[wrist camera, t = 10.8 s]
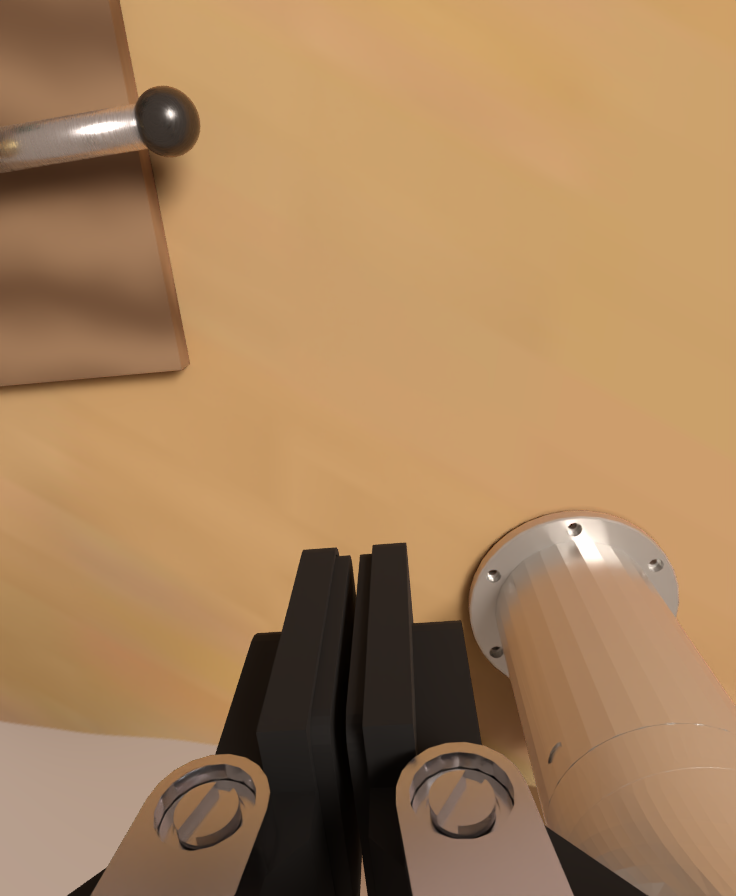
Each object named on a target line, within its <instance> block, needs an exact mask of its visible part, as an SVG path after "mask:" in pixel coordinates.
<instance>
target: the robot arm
mask: <svg viewBox="0 0 736 896" xmlns="http://www.w3.org/2000/svg"><path fill="white" fill-rule="evenodd" d="M572 523H574V524H573V525H572V526H569V525H570V524H572ZM491 570H494V571H492V572H491ZM678 606H679V586H678V582H677V579H676V575H675V572H674V569H673V567H672V565H671V563H670V562H669V560H668V558H667V556H666V554H665V553H664V552H663V551H662V549H661V548H660V547H659V546H658V544H657V543H656V542H655V541H654V540H653V539H652V538H651V537H650V536H649V535H648V534H647V533H645V532H644V531H643V530H642V529H641V528H639V527H637V526H635V525H634V524H632V523H630V522H628V521H627V520H625V519H622V518H619V517H616V516H613V515H610V514H607V513H601V512H594V511H587V510H582V511H563V512H558V513H553V514H548V515H544V516H542V517H539V518H536V519H534V520H531V521H529V522H526V523H524V524H523V525H521V526H519V527H517V528H516V529H514V530H512V531H511V532H509V533H508V534H507V535H505V536H504V537H503V538H502V539H501V540H500V541H498V542H497V543H496V544H495V545H494V546H493V547H492V548H491V550H490V551H489V552H488V553H487V555H486V556H485V557H484V558H483V560H482V561H481V563H480V565H479V567H478V569H477V571H476V573H475V575H474V577H473V581H472V585H471V588H470V592H469V608H468V609H469V615H470V622H471V627H472V630H473V634H474V637H475V640H476V642H477V644H478V646H479V647H480V649H481V651H482V653H483V654H484V655H485V657H486V658H487V659H488V660H489V661H490V662H491V664H492V665H493V666H494V667H495V668H497V669H498V670H499V671H501V672H502V673H503V674H505V675H506V676H507V677H509V678H510V681H511V685H512V689H513V693H514V697H515V701H516V705H517V709H518V713H519V717H520V721H521V725H522V729H523V733H524V738H525V742H526V746H527V750H528V754H529V758H530V762H531V766H532V770H533V774H534V778H535V782H536V786H537V790H538V794H539V798H540V802H541V806H542V810H543V815H544V818H545V822H546V826H545V825H544V824H543V821H542V819H541V817H540V814H539V812H538V809H537V807H536V804H535V802H534V800H533V797H532V795H531V793H530V790H529V788H528V785H527V783H526V781H525V779H524V778H523V776H522V775H521V773H520V771H519V770H518V768H517V767H516V765H514V764H513V763H512V762H511V761H510V760H508V759H507V758H506V757H505V756H504V755H503V754H501V753H499V752H497V751H495V750H492V749H490V748H488V747H486V746H483V745H482V743H481V737H480V731H479V725H478V719H477V713H476V707H475V701H474V695H473V689H472V683H471V677H470V671H469V664H468V658H467V652H466V646H465V640H464V634H463V628H462V623H461V620H460V621H444V622H428V623H413V613H412V601H411V590H410V579H409V567H408V556H407V546H406V543H394V544H380V545H373V548H372V554H363V555H360V562H359V573H358V584H357V595H356V592H355V583H354V575H353V567H352V560H351V556H350V555H349V556H339V552H338V549H337V548H323V549H309V550H303V552H302V555H301V559H300V563H299V566H298V570H297V574H296V578H295V582H294V586H293V590H292V594H291V598H290V602H289V606H288V609H287V613H286V617H285V621H284V625H283V629H282V632H269V633H257V634H256V635H254V637H253V639H252V641H251V644H250V647H249V651H248V654H247V657H246V660H245V663H244V666H243V669H242V673H241V676H240V679H239V682H238V685H237V688H236V691H235V694H234V698H233V701H232V704H231V707H230V710H229V713H228V716H227V720H226V723H225V726H224V729H223V732H222V735H221V738H220V741H219V745H218V748H217V751H216V754H215V755H210V756H206V757H203V758H200V759H196V760H193V761H191V762H189V763H187V764H185V765H183V766H181V767H179V768H177V769H176V770H174V771H173V772H172V773H170V774H169V775H168V776H167V777H166V778H164V779H163V780H162V781H161V782H160V783H159V784H158V785H157V786H156V787H155V789H154V790H153V792H152V793H151V794H150V795H149V796H148V798H147V799H146V801H145V803H144V804H143V806H142V808H141V809H140V811H139V813H138V815H137V817H136V818H135V820H134V822H133V823H132V825H131V827H130V828H129V830H128V832H127V834H126V835H125V837H124V839H123V840H122V842H121V844H120V846H119V847H118V849H117V851H116V853H115V854H114V856H113V858H112V860H111V861H110V863H109V865H108V866H107V868H105V869H104V870H102V871H101V872H100V873H98V874H97V875H96V876H94V877H93V878H91V879H90V880H88V881H87V882H86V883H84V884H83V885H81V886H80V887H79V888H77V889H76V890H75V891H73V892H72V893H70V894H69V895H68V896H360V884H361V862H362V858H363V865H364V872H365V879H366V886H367V893H368V896H736V706H735V704H734V703H733V701H732V700H731V698H730V697H729V695H728V694H727V692H726V691H725V689H724V688H723V686H722V685H721V684H720V682H719V681H718V679H717V678H716V676H715V675H714V673H713V672H712V670H711V669H710V667H709V666H708V664H707V663H706V662H705V660H704V659H703V657H702V656H701V654H700V653H699V651H698V650H697V648H696V647H695V645H694V644H693V642H692V641H691V640H690V638H689V637H688V635H687V634H686V632H685V631H684V629H683V628H682V626H681V625H680V623H679V622H678V620H677V619H676V617H677V612H678Z"/></svg>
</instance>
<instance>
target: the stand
mask: <svg viewBox="0 0 736 896" xmlns="http://www.w3.org/2000/svg"><path fill="white" fill-rule="evenodd" d="M137 100H138V94H137V89H136V84H135V78H134V73H133V68H132V63H131V58H130V53H129V48H128V42H127V37H126V32H125V27H124V22H123V17H122V12H121V6H120V1H119V0H0V127H2V126H8V125H14V124H20V123H26V122H32V121H37V120H43V119H49V118H55V117H61V116H66V115H72V114H78V113H84V112H90V111H96V110H101V109H107V108H113V107H119V106H125V105H130V104H136V102H137ZM189 364H190V362H189V356H188V351H187V346H186V341H185V336H184V331H183V326H182V320H181V315H180V310H179V305H178V300H177V295H176V289H175V284H174V279H173V274H172V269H171V264H170V259H169V253H168V248H167V243H166V238H165V233H164V228H163V223H162V217H161V212H160V207H159V202H158V197H157V192H156V187H155V181H154V176H153V171H152V166H151V161H150V156H149V151H148V149H143V150H137V151H131V152H125V153H119V154H113V155H107V156H101V157H95V158H89V159H83V160H77V161H71V162H65V163H59V164H53V165H47V166H41V167H35V168H29V169H23V170H17V171H11V172H4V173H0V386H9V385H20V384H32V383H43V382H54V381H65V380H76V379H87V378H98V377H109V376H120V375H131V374H142V373H154V372H165V371H176V370H183V369H184V368H185V367H186V366H187V365H189Z"/></svg>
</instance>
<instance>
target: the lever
mask: <svg viewBox="0 0 736 896" xmlns="http://www.w3.org/2000/svg"><path fill="white" fill-rule="evenodd" d="M199 133H200V119H199V115H198V112H197V109H196V107H195V106H194V104H193V102H192V101H191V100H190V99H189V98H188V97H187V96H186V95H185V94H184V93H183V92H181V91H180V90H178V89H176V88H173V87H169V86H156V87H153V88H150V89H148V90H147V91H145V92H144V93H143V94H142V95H141V96H140V97H139V99H138V100H137V102H136V104H130V105H125V106H119V107H113V108H107V109H101V110H96V111H90V112H84V113H78V114H72V115H66V116H61V117H55V118H49V119H43V120H37V121H32V122H26V123H20V124H14V125H8V126H2V127H0V173H4V172H11V171H17V170H23V169H29V168H35V167H41V166H47V165H53V164H59V163H65V162H71V161H77V160H83V159H89V158H95V157H101V156H107V155H113V154H119V153H125V152H131V151H137V150H143V149H150V150H151V151H152V152H154V153H156V154H158V155H161V156H165V157H177V156H181V155H183V154H185V153H187V152H188V151H189V150H191V149H192V147H193V146H194V145H195V143H196V142H197V140H198V137H199Z"/></svg>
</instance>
